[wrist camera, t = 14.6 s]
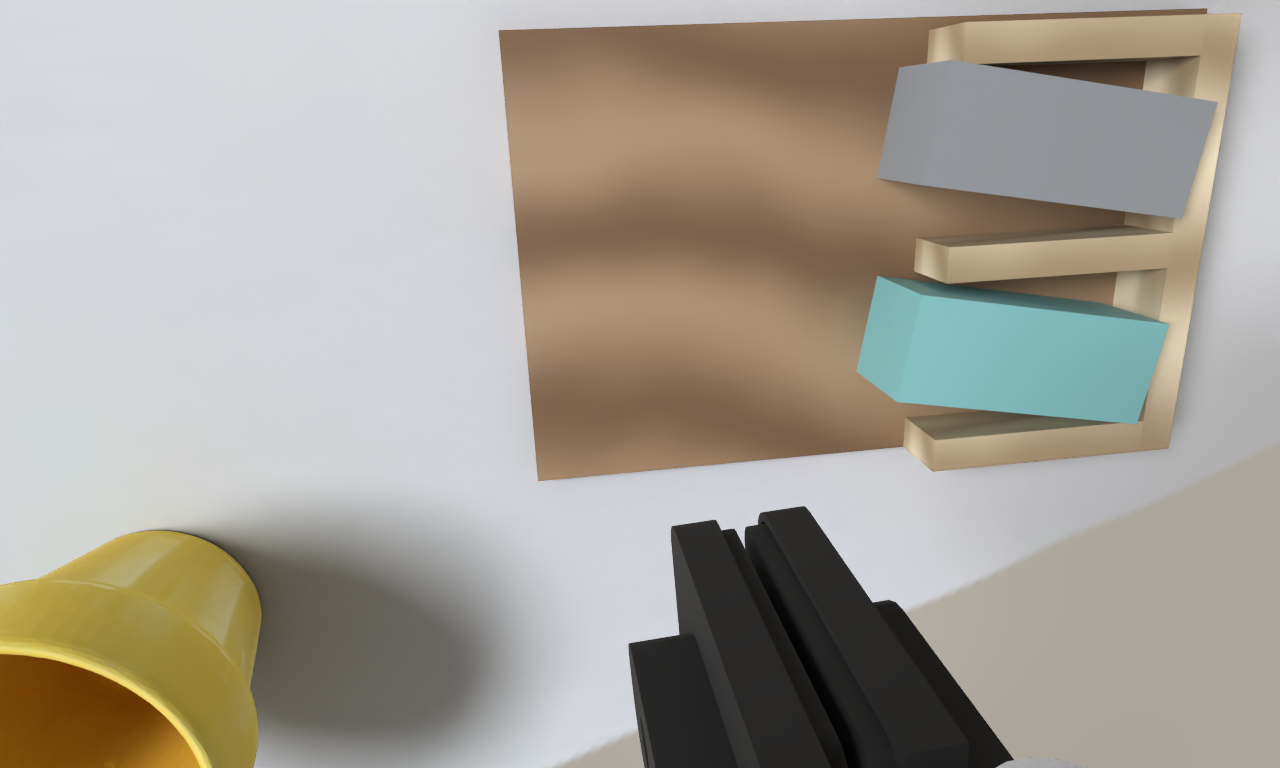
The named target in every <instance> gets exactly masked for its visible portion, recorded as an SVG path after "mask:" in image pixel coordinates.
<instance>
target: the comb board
mask: <svg viewBox="0 0 1280 768" xmlns="http://www.w3.org/2000/svg"><path fill="white" fill-rule="evenodd" d="M1241 16H1242V13H1232V14H1207V9H1175V10H1142V11H1110V12H1078V13H1045V14H1013V15H981V16H949V17H916V18H884V19H852V20H819V21H787V22H755V23H723V24H690V25H658V26H626V27H593V28H561V29H529V30H499V38H500V50H501V61H502V73H503V84H504V95H505V107H506V118H507V130H508V141H509V153H510V164H511V176H512V187H513V198H514V210H515V221H516V233H517V244H518V256H519V267H520V279H521V290H522V301H523V313H524V324H525V336H526V347H527V359H528V370H529V382H530V393H531V404H532V416H533V427H534V439H535V450H536V462H537V473H538V481H545V480H555V479H566V478H576V477H587V476H597V475H608V474H619V473H629V472H640V471H650V470H661V469H672V468H682V467H693V466H703V465H714V464H724V463H735V462H746V461H756V460H767V459H777V458H788V457H799V456H809V455H820V454H830V453H841V452H851V451H862V450H873V449H883V448H894V447H904V448H906V449H907V450H908V451H909V452H910V453H912V454H913V455H914V456H915V457H916V458H917V459H919V460H920V461H921V462H922V463H923V464H924V465H926V466H927V467H928V468H929V469H930V470H931V471H933V472H934V471H944V470H954V469H964V468H975V467H985V466H995V465H1005V464H1015V463H1025V462H1035V461H1046V460H1056V459H1066V458H1076V457H1086V456H1096V455H1106V454H1116V453H1127V452H1137V451H1147V450H1157V449H1167V448H1169V442H1170V436H1171V430H1172V424H1173V418H1174V412H1175V406H1176V400H1177V394H1178V388H1179V382H1180V377H1181V371H1182V365H1183V359H1184V353H1185V347H1186V341H1187V335H1188V329H1189V323H1190V317H1191V312H1192V306H1193V300H1194V294H1195V288H1196V282H1197V276H1198V270H1199V264H1200V258H1201V252H1202V247H1203V241H1204V235H1205V229H1206V223H1207V217H1208V211H1209V205H1210V199H1211V193H1212V187H1213V181H1214V176H1215V170H1216V164H1217V158H1218V152H1219V146H1220V140H1221V134H1222V128H1223V122H1224V116H1225V111H1226V105H1227V99H1228V93H1229V87H1230V81H1231V75H1232V69H1233V63H1234V57H1235V51H1236V45H1237V40H1238V34H1239V28H1240V22H1241ZM947 60H955V61H961V62H968V63H974V64H980V65H987V66H993V67H999V68H1006V69H1012V70H1019V71H1025V72H1031V73H1038V74H1044V75H1050V76H1057V77H1063V78H1069V79H1076V80H1082V81H1088V82H1095V83H1101V84H1107V85H1114V86H1120V87H1127V88H1133V89H1139V90H1146V91H1152V92H1158V93H1165V94H1171V95H1177V96H1184V97H1190V98H1196V99H1203V100H1209V101H1215V102H1218V104H1217V107H1216V110H1215V113H1214V117H1213V120H1212V123H1211V126H1210V129H1209V133H1208V136H1207V139H1206V142H1205V146H1204V149H1203V152H1202V155H1201V158H1200V162H1199V165H1198V168H1197V171H1196V175H1195V178H1194V181H1193V184H1192V187H1191V191H1190V194H1189V197H1188V200H1187V204H1186V207H1185V210H1184V213H1183V216H1182V219H1180V218H1172V217H1164V216H1156V215H1149V214H1141V213H1133V212H1125V211H1118V210H1110V209H1102V208H1094V207H1087V206H1079V205H1071V204H1063V203H1056V202H1048V201H1040V200H1032V199H1025V198H1017V197H1009V196H1001V195H994V194H986V193H978V192H970V191H963V190H955V189H947V188H939V187H932V186H924V185H918V184H911V183H905V182H899V181H892V180H886V179H880V178H877V175H878V170H879V165H880V160H881V155H882V151H883V146H884V141H885V136H886V131H887V126H888V121H889V116H890V111H891V106H892V101H893V96H894V91H895V86H896V81H897V77H898V72H899V67H905V66H912V65H919V64H926V63H933V62H940V61H947ZM877 276H885V277H893V278H901V279H910V280H918V281H926V282H935V283H943V284H951V285H960V286H968V287H976V288H984V289H993V290H1001V291H1009V292H1018V293H1026V294H1034V295H1043V296H1051V297H1059V298H1068V299H1076V300H1084V301H1092V302H1101V303H1104V304H1107V305H1110V306H1113V307H1117V308H1120V309H1123V310H1126V311H1129V312H1133V313H1136V314H1139V315H1142V316H1145V317H1149V318H1152V319H1155V320H1158V321H1161V322H1164V323H1168V324H1169V327H1168V330H1167V333H1166V336H1165V339H1164V343H1163V346H1162V349H1161V352H1160V355H1159V358H1158V361H1157V364H1156V367H1155V370H1154V373H1153V376H1152V379H1151V382H1150V385H1149V388H1148V391H1147V394H1146V397H1145V400H1144V403H1143V407H1142V410H1141V413H1140V416H1139V419H1138V422H1137V424H1128V423H1118V422H1107V421H1096V420H1085V419H1075V418H1064V417H1053V416H1042V415H1032V414H1021V413H1010V412H999V411H989V410H978V409H967V408H956V407H946V406H935V405H924V404H913V403H903V402H896V401H895V400H894V399H892V398H891V397H890V396H888V395H887V394H886V393H884V392H883V391H882V390H880V389H879V388H878V387H876V386H875V385H874V384H872V383H871V382H870V381H868V380H867V379H866V378H864V377H863V376H862V375H860V374H859V373H858V372H856V371H857V366H858V362H859V357H860V352H861V348H862V343H863V339H864V334H865V330H866V325H867V321H868V316H869V312H870V307H871V303H872V298H873V294H874V289H875V284H876V280H877Z"/></svg>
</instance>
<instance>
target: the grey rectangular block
mask: <svg viewBox="0 0 1280 768" xmlns="http://www.w3.org/2000/svg"><path fill="white" fill-rule="evenodd" d="M1217 104H1218V102H1215V101H1209V100H1203V99H1196V98H1190V97H1184V96H1177V95H1171V94H1165V93H1158V92H1152V91H1146V90H1139V89H1133V88H1127V87H1120V86H1114V85H1107V84H1101V83H1095V82H1088V81H1082V80H1076V79H1069V78H1063V77H1057V76H1050V75H1044V74H1038V73H1031V72H1025V71H1019V70H1012V69H1006V68H999V67H993V66H987V65H980V64H974V63H968V62H961V61H955V60H947V61H940V62H933V63H926V64H919V65H912V66H905V67H899V72H898V77H897V81H896V86H895V91H894V96H893V101H892V106H891V111H890V116H889V121H888V126H887V131H886V136H885V141H884V146H883V151H882V155H881V160H880V165H879V170H878V175H877V178H880V179H886V180H892V181H899V182H905V183H911V184H918V185H924V186H932V187H939V188H947V189H955V190H963V191H970V192H978V193H986V194H994V195H1001V196H1009V197H1017V198H1025V199H1032V200H1040V201H1048V202H1056V203H1063V204H1071V205H1079V206H1087V207H1094V208H1102V209H1110V210H1118V211H1125V212H1133V213H1141V214H1149V215H1156V216H1164V217H1172V218H1180V219H1182V216H1183V213H1184V210H1185V207H1186V204H1187V200H1188V197H1189V194H1190V191H1191V187H1192V184H1193V181H1194V178H1195V175H1196V171H1197V168H1198V165H1199V162H1200V158H1201V155H1202V152H1203V149H1204V146H1205V142H1206V139H1207V136H1208V133H1209V129H1210V126H1211V123H1212V120H1213V117H1214V113H1215V110H1216V107H1217Z"/></svg>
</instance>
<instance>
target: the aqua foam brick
mask: <svg viewBox="0 0 1280 768" xmlns="http://www.w3.org/2000/svg"><path fill="white" fill-rule="evenodd" d="M1168 327H1169V324H1168V323H1164V322H1161V321H1158V320H1155V319H1152V318H1149V317H1145V316H1142V315H1139V314H1136V313H1133V312H1129V311H1126V310H1123V309H1120V308H1117V307H1113V306H1110V305H1107V304H1104V303H1101V302H1092V301H1084V300H1076V299H1068V298H1059V297H1051V296H1043V295H1034V294H1026V293H1018V292H1009V291H1001V290H993V289H984V288H976V287H968V286H960V285H951V284H943V283H935V282H926V281H918V280H910V279H901V278H893V277H885V276H877V280H876V284H875V289H874V294H873V298H872V303H871V307H870V312H869V316H868V321H867V325H866V330H865V334H864V339H863V343H862V348H861V352H860V357H859V362H858V366H857V371H856V372H858V373H859V374H860V375H862V376H863V377H864V378H866V379H867V380H868V381H870V382H871V383H872V384H874V385H875V386H876V387H878V388H879V389H880V390H882V391H883V392H884V393H886V394H887V395H888V396H890V397H891V398H892V399H894V400H895V401H896V402H903V403H913V404H924V405H935V406H946V407H956V408H967V409H978V410H989V411H999V412H1010V413H1021V414H1032V415H1042V416H1053V417H1064V418H1075V419H1085V420H1096V421H1107V422H1118V423H1128V424H1137V422H1138V419H1139V416H1140V413H1141V410H1142V407H1143V403H1144V400H1145V397H1146V394H1147V391H1148V388H1149V385H1150V382H1151V379H1152V376H1153V373H1154V370H1155V367H1156V364H1157V361H1158V358H1159V355H1160V352H1161V349H1162V346H1163V343H1164V339H1165V336H1166V333H1167V330H1168Z"/></svg>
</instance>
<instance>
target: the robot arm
mask: <svg viewBox="0 0 1280 768" xmlns="http://www.w3.org/2000/svg"><path fill="white" fill-rule="evenodd" d="M671 542H672V554H673V565H674V577H675V588H676V600H677V611H678V622H679V634H680V635H677V636H671V637H665V638H659V639H653V640H647V641H641V642H635V643H629V658H630V667H631V676H632V685H633V693H634V701H635V709H636V716H637V723H638V730H639V737H640V742H641V749H642V755H643V761H644V767H645V768H1087V767H1084V766H1081V765H1077V764H1073V763H1070V762H1066V761H1062V760H1059V759H1050V758H1035V757H1029V758H1023V759H1017V760H1014V759H1013V758H1012V757H1011V755H1010V754H1009V752H1008V751H1007V750H1006V748H1005V747H1004V746H1003V744H1002V743H1001V742H1000V740H999V739H998V738H997V736H996V735H995V734H994V732H993V731H992V729H991V728H990V727H989V725H988V724H987V723H986V721H985V720H984V719H983V717H982V716H981V715H980V713H979V712H978V711H977V709H976V708H975V706H974V705H973V704H972V702H971V701H970V700H969V698H968V697H967V696H966V694H965V693H964V692H963V690H962V689H961V688H960V686H959V685H958V684H957V683H956V681H955V680H954V678H953V677H952V676H951V674H950V673H949V671H948V670H947V669H946V667H945V666H944V665H943V663H942V662H941V661H940V659H939V658H938V657H937V655H936V654H935V653H934V651H933V650H932V649H931V647H930V646H929V645H928V643H927V642H926V641H925V639H924V638H923V636H922V635H921V634H920V632H919V631H918V630H917V628H916V627H915V626H914V624H913V623H912V621H911V620H910V619H909V618H908V616H907V615H906V613H905V612H904V611H903V609H902V608H901V607H900V606H899V605H898V604H897V603H896V602H893V601H890V600H886V601H880V602H874V603H872V601H871V600H870V598H869V597H868V595H867V594H866V593H865V591H864V590H863V588H862V587H861V585H860V584H859V582H858V581H857V580H856V578H855V577H854V575H853V574H852V572H851V571H850V569H849V568H848V567H847V565H846V564H845V562H844V561H843V559H842V558H841V556H840V555H839V554H838V552H837V551H836V549H835V548H834V546H833V545H832V543H831V542H830V541H829V539H828V538H827V536H826V535H825V533H824V532H823V530H822V529H821V528H820V526H819V525H818V523H817V522H816V520H815V519H814V517H813V516H812V515H811V513H810V512H809V510H808V509H807V508H806V507H803V506H802V507H795V508H788V509H782V510H775V511H769V512H762V513H760V515H759V519H758V525H754V526H748V527H746V529H745V548H744V546H743V544H742V542H741V540H740V538H739V536H738V534H737V532H736V531H735V529H728V530H722V531H721V529H720V527H719V525H718V523H717V521H716V520H710V521H704V522H697V523H690V524H684V525H677V526H672V528H671Z"/></svg>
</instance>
